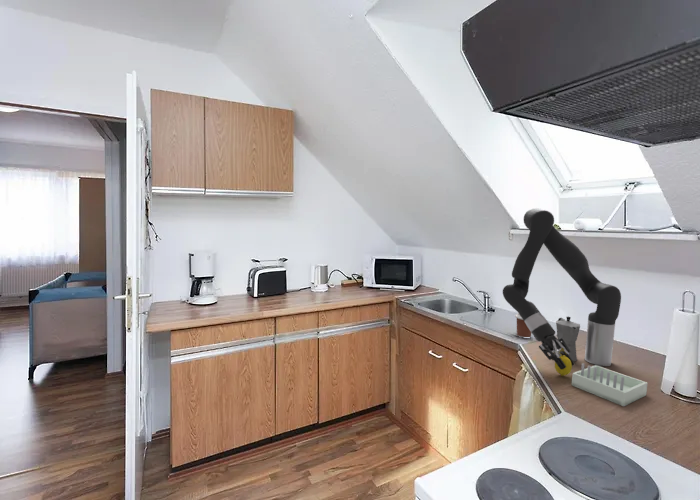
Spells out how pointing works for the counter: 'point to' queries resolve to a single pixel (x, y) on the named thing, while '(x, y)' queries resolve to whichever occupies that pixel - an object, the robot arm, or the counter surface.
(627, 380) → the dish rack
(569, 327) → the coffeepot
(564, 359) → the lemon
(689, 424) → the counter surface
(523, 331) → the coffee cup
